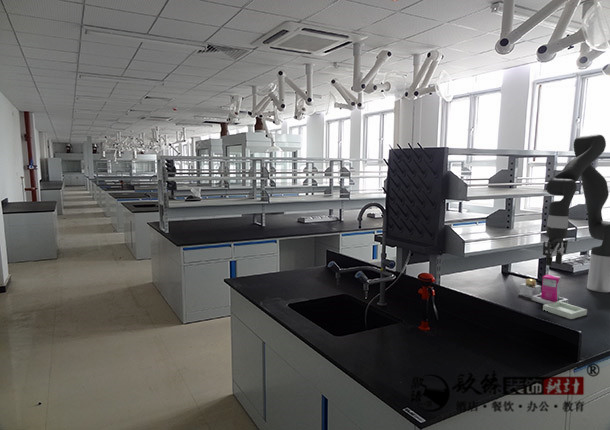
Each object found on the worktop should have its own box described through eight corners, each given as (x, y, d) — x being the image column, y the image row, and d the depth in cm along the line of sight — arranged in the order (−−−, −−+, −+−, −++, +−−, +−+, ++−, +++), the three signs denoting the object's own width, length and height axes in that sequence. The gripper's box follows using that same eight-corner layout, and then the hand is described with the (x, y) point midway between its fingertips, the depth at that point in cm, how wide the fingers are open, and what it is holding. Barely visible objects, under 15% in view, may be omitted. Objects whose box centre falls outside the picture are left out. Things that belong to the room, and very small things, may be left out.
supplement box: (543, 298, 178) (546, 273, 177) (559, 302, 174) (561, 276, 172) (539, 301, 174) (542, 276, 172) (555, 305, 170) (558, 279, 168)
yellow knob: (528, 292, 184) (529, 278, 183) (536, 294, 181) (538, 280, 180) (522, 293, 182) (524, 279, 182) (531, 295, 179) (532, 281, 178)
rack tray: (558, 305, 169) (558, 301, 169) (586, 314, 160) (587, 309, 159) (542, 309, 164) (543, 304, 164) (571, 319, 154) (571, 314, 154)
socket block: (529, 292, 187) (530, 281, 186) (568, 303, 172) (569, 292, 171) (516, 295, 182) (517, 284, 181) (554, 307, 167) (555, 295, 167)
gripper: (558, 223, 176) (554, 261, 178) (538, 225, 169) (534, 264, 172) (576, 226, 170) (572, 264, 172) (556, 228, 163) (552, 268, 165)
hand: (553, 264), depth 172 cm, fingers open, 6 cm apart
